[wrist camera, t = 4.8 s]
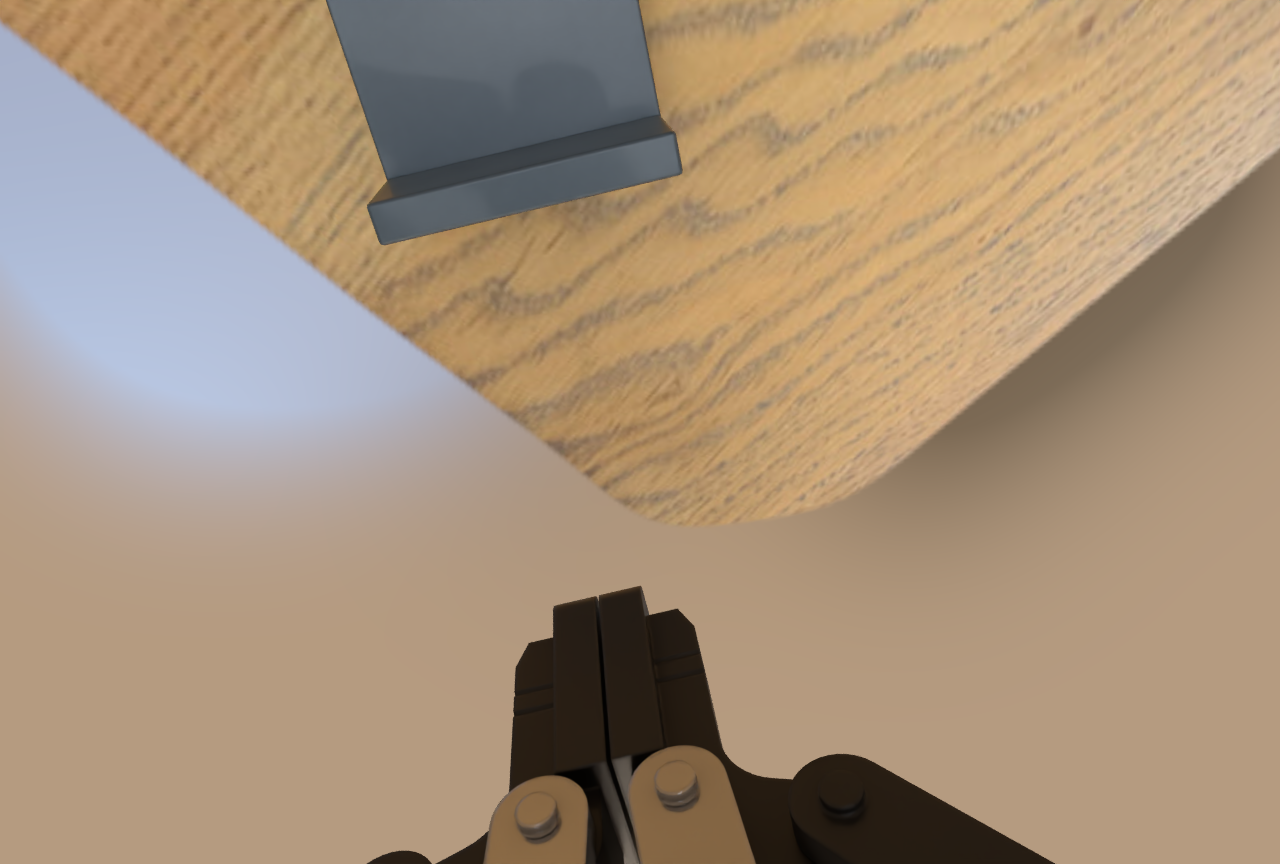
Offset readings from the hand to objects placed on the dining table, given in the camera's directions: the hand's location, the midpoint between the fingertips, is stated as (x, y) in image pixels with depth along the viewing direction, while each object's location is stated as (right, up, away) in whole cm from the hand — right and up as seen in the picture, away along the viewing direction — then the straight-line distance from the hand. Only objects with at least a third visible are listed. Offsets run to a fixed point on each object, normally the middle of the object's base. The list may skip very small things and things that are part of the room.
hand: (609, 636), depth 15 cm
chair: (-3, +15, +11) cm, 19 cm away
